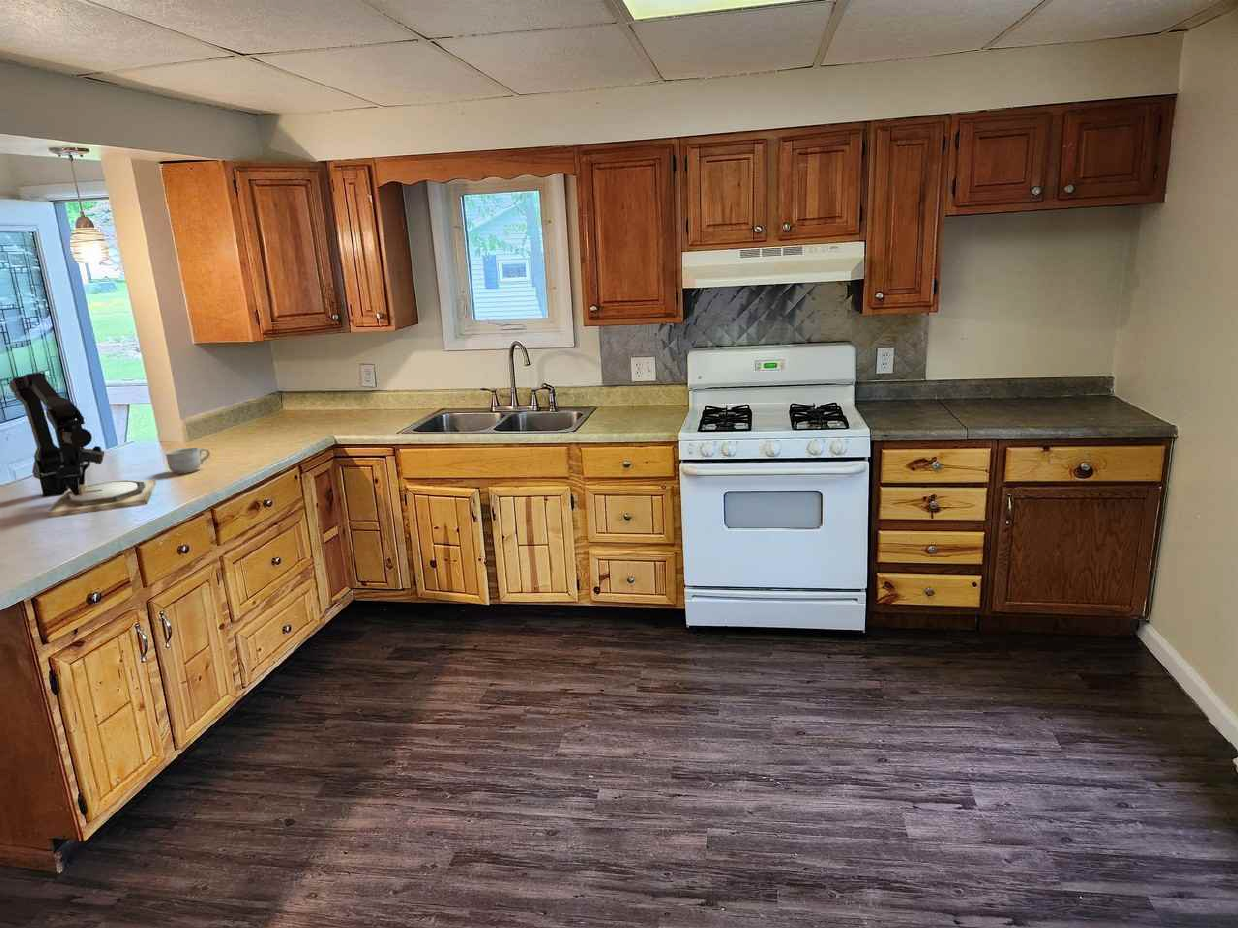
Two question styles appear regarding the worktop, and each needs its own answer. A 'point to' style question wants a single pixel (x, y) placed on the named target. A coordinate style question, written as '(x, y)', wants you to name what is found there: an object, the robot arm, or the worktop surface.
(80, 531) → the worktop surface
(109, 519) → the worktop surface
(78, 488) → the robot arm
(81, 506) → the dial base
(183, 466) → the teacup
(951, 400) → the worktop surface
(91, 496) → the dial
